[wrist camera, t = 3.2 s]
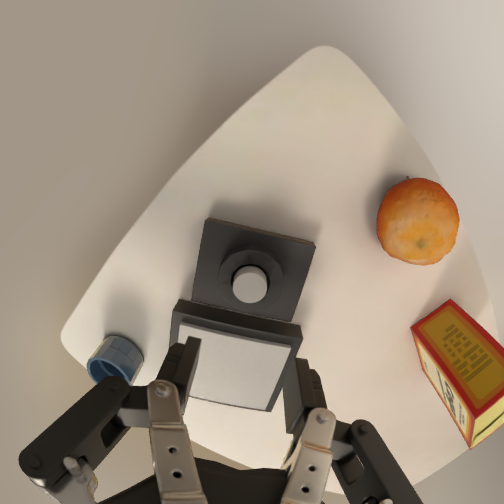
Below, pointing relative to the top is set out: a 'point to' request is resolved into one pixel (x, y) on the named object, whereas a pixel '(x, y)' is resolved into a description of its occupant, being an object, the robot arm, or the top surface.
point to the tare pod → (251, 254)
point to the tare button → (250, 284)
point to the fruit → (417, 222)
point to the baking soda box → (463, 369)
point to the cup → (115, 360)
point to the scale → (236, 354)
